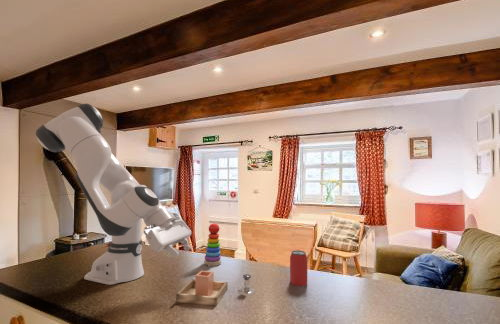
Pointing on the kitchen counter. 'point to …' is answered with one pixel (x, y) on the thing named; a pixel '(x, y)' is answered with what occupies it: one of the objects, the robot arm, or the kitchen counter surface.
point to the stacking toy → (213, 247)
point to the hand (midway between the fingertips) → (183, 252)
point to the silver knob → (246, 286)
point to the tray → (189, 295)
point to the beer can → (298, 268)
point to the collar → (204, 283)
